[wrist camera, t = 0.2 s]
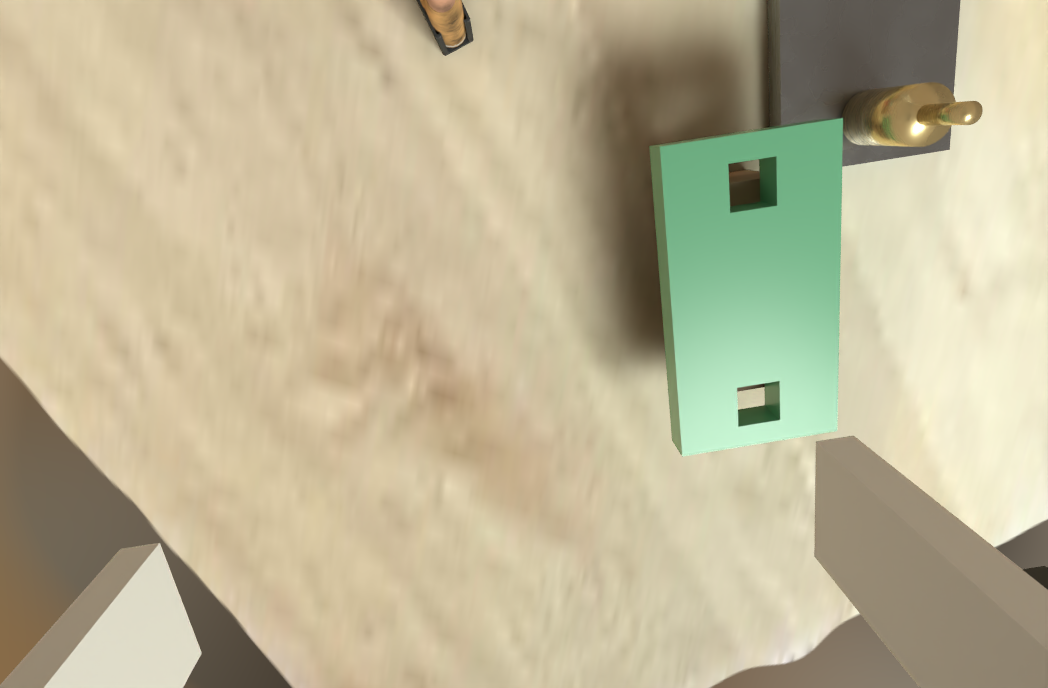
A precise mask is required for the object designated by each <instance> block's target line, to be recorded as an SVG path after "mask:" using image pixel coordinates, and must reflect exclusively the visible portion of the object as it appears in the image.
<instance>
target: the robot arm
mask: <svg viewBox="0 0 1048 688" xmlns="http://www.w3.org/2000/svg"><path fill="white" fill-rule="evenodd" d="M814 556H815V558H816V559H817V560H818V561H819V563H820V564H821V565H822V566H823V568H824V569H825V570H826V571H827V573H828V574H829V575H830V576H831V578H832V579H833V580H834V581H835V583H836V584H837V585H838V586H839V588H840V589H841V590H842V591H843V593H844V594H845V595H846V596H847V598H848V599H849V600H850V601H851V603H852V604H853V605H854V606H855V608H856V609H857V610H858V611H859V613H860V614H861V615H862V616H863V618H864V619H865V620H866V621H867V623H868V624H869V625H870V626H871V628H872V629H873V630H874V631H875V632H876V634H877V635H878V636H879V638H880V639H881V640H882V641H883V643H884V644H885V645H886V646H887V648H888V649H889V650H890V651H891V653H892V654H893V655H894V656H895V657H896V659H897V660H898V661H899V663H900V664H901V665H902V666H903V668H904V669H905V670H906V671H907V673H908V674H909V675H910V676H911V678H912V679H913V680H914V681H915V683H916V684H917V685H918V686H919V687H920V688H1048V568H1047V567H1045V566H1041V567H1035V568H1029V569H1023V570H1022V569H1021V568H1019V567H1018V566H1017V565H1016V564H1014V563H1013V562H1012V561H1011V560H1009V559H1008V558H1007V557H1006V556H1004V555H1003V554H1002V553H1001V552H999V551H998V550H997V549H996V548H994V547H993V546H992V545H991V544H989V543H988V542H987V541H986V540H984V539H983V538H982V537H981V536H979V535H978V534H977V533H975V532H974V531H973V530H972V529H970V528H969V527H968V526H967V525H965V524H964V523H963V522H962V521H960V520H959V519H958V518H957V517H955V516H954V515H953V514H952V513H950V512H949V511H948V510H947V509H945V508H944V507H943V506H941V505H940V504H939V503H938V502H936V501H935V500H934V499H933V498H931V497H930V496H929V495H928V494H926V493H925V492H924V491H923V490H921V489H920V488H919V487H918V486H916V485H915V484H914V483H913V482H911V481H910V480H909V479H907V478H906V477H905V476H904V475H902V474H901V473H900V472H899V471H897V470H896V469H895V468H894V467H892V466H891V465H890V464H889V463H887V462H886V461H885V460H884V459H882V458H881V457H880V456H878V455H877V454H876V453H875V452H873V451H872V450H871V449H870V448H868V447H867V446H866V445H865V444H863V443H862V442H861V441H860V440H858V439H857V438H856V437H855V436H848V437H842V438H835V439H829V440H822V441H816V478H815V550H814ZM200 655H201V650H200V648H199V645H198V643H197V640H196V637H195V634H194V632H193V629H192V627H191V624H190V621H189V619H188V616H187V613H186V611H185V608H184V606H183V603H182V600H181V598H180V595H179V593H178V590H177V588H176V585H175V582H174V579H173V577H172V574H171V571H170V569H169V566H168V563H167V561H166V558H165V556H164V553H163V550H162V548H161V545H160V543H156V544H150V545H143V546H137V547H130V548H124V549H120V550H119V551H118V553H117V554H116V555H115V556H114V557H113V558H112V559H111V560H110V562H109V563H108V564H107V565H106V566H105V567H104V568H103V569H102V571H101V572H100V573H99V574H98V575H97V576H96V577H95V579H94V580H93V581H92V582H91V583H90V584H89V585H88V586H87V588H86V589H85V590H84V591H83V592H82V593H81V594H80V596H79V597H78V598H77V599H76V600H75V601H74V603H72V605H71V606H70V607H69V608H68V609H67V610H66V611H65V612H64V614H63V615H62V616H61V617H60V618H59V619H58V620H57V621H56V623H55V624H54V625H53V626H52V627H51V628H50V629H49V631H48V632H47V633H46V634H45V635H44V636H43V637H42V638H41V640H40V641H39V642H38V643H37V644H36V645H35V646H34V648H33V649H32V650H31V651H30V652H29V653H28V654H27V655H26V657H25V658H24V659H23V660H22V661H21V662H20V663H19V665H18V666H17V667H16V668H15V669H14V670H13V671H12V672H11V674H10V675H9V676H8V677H7V678H6V679H5V680H4V682H3V683H2V684H1V685H0V688H183V686H184V684H185V683H186V681H187V679H188V677H189V675H190V673H191V671H192V670H193V668H194V666H195V664H196V662H197V661H198V659H199V657H200Z"/></svg>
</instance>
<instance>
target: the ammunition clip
mask: <svg viewBox="0 0 1048 688" xmlns="http://www.w3.org/2000/svg"><path fill="white" fill-rule="evenodd" d="M417 2H418V4H419V6H420V8H421V10H422V12H423V14H424V16H425V18H426V20H427V22H428V24H429V26H430V28H431V30H432V32H433V34H434V36H435V38H436V40H437V42H438V44H439V46H440V49H441V51H442V53H443V55H445V56H446V55H448V54H450V53H452V52H454V51H456V50H457V49H459V48H461V47H463V46H465V45H467V44H468V43H470V42H472V41H473V34H472V28H471V22H470V18H469V16H468V13H467V11H466V9H465V7H464V5H463V3H462V1H461V0H417Z"/></svg>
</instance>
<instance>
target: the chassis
mask: <svg viewBox="0 0 1048 688" xmlns="http://www.w3.org/2000/svg"><path fill="white" fill-rule="evenodd" d="M767 6H768V63H769V121H770V127H774V126H780V125H787V124H793V123H800V122H806V121H812V120H819V119H833V118H843V147H842V166H849V165H855V164H861V163H868V162H874V161H880V160H887V159H893V158H899V157H906V156H912V155H918V154H925V153H931V152H937V151H944V150H950V136H951V126H952V125H971V124H974V123H976V122H977V121H978V120H979V119H980V117H981V115H982V106H981V104H980V103H979V102H977V101H967V102H955V98H954V96H953V94H954V80H955V66H956V53H957V39H958V25H959V11H960V0H767Z"/></svg>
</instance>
